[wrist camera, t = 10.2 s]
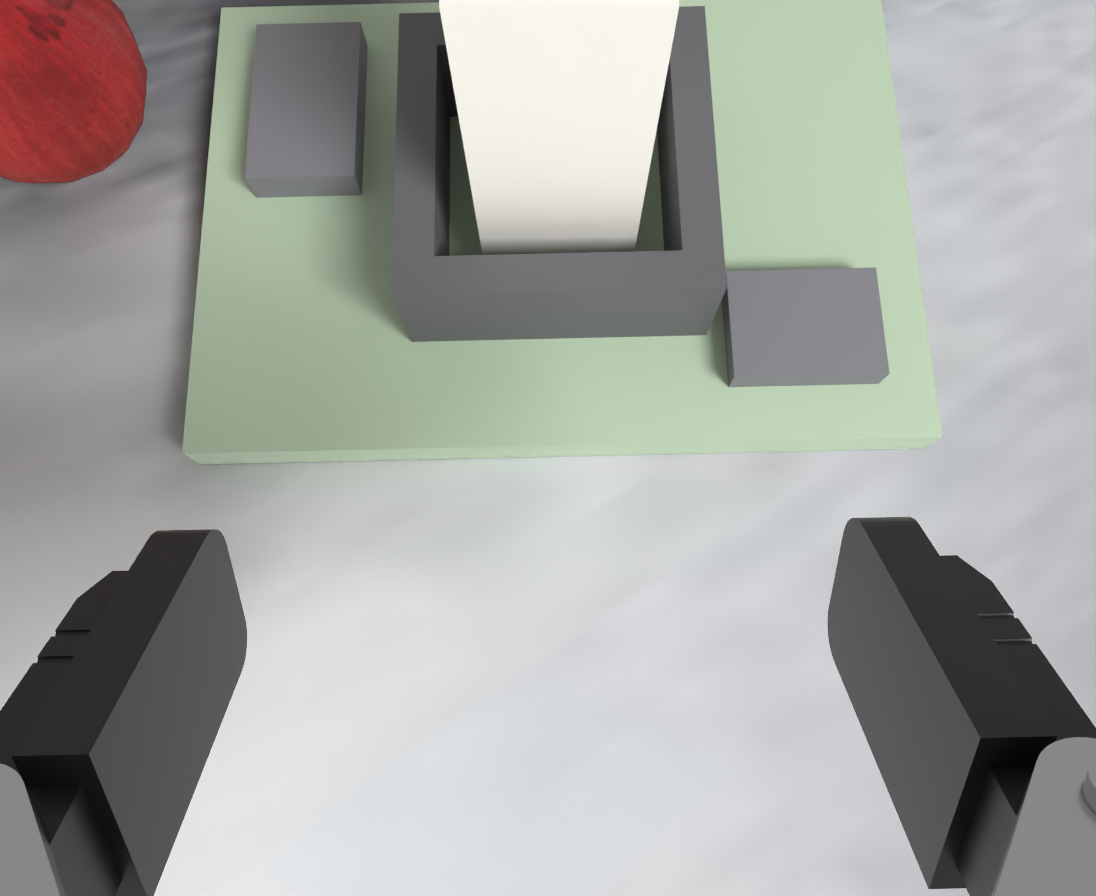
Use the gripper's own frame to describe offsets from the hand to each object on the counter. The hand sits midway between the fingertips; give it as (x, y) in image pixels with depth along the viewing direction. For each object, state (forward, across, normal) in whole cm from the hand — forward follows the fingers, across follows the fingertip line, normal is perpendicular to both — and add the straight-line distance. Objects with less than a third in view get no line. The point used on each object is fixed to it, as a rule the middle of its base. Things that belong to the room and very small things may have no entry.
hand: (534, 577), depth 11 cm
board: (+17, -1, 0) cm, 17 cm away
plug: (+16, -1, 0) cm, 16 cm away
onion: (+19, +13, -2) cm, 23 cm away
